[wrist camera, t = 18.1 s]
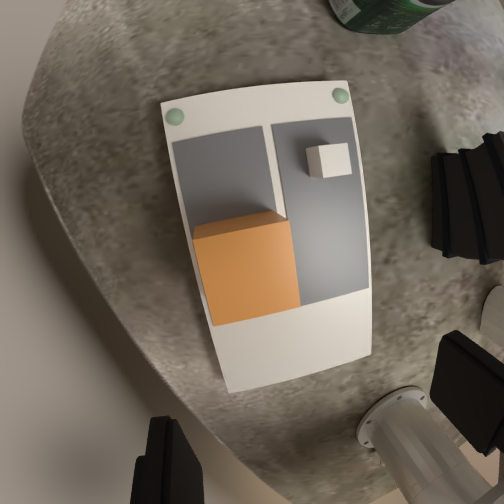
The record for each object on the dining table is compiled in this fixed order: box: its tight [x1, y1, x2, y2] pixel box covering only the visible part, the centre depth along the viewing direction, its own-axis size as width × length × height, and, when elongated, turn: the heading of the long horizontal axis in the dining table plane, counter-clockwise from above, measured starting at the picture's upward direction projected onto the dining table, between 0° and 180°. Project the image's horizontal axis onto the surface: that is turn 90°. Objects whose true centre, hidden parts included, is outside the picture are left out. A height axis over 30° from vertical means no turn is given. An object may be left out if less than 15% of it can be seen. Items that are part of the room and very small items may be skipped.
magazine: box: [431, 131, 504, 265], centre depth 25 cm, size 4×13×15 cm, turn 6°
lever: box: [305, 143, 352, 178], centre depth 23 cm, size 2×2×3 cm
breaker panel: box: [160, 81, 372, 394], centre depth 27 cm, size 28×16×3 cm, turn 10°
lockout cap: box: [193, 210, 301, 327], centre depth 23 cm, size 6×6×5 cm
